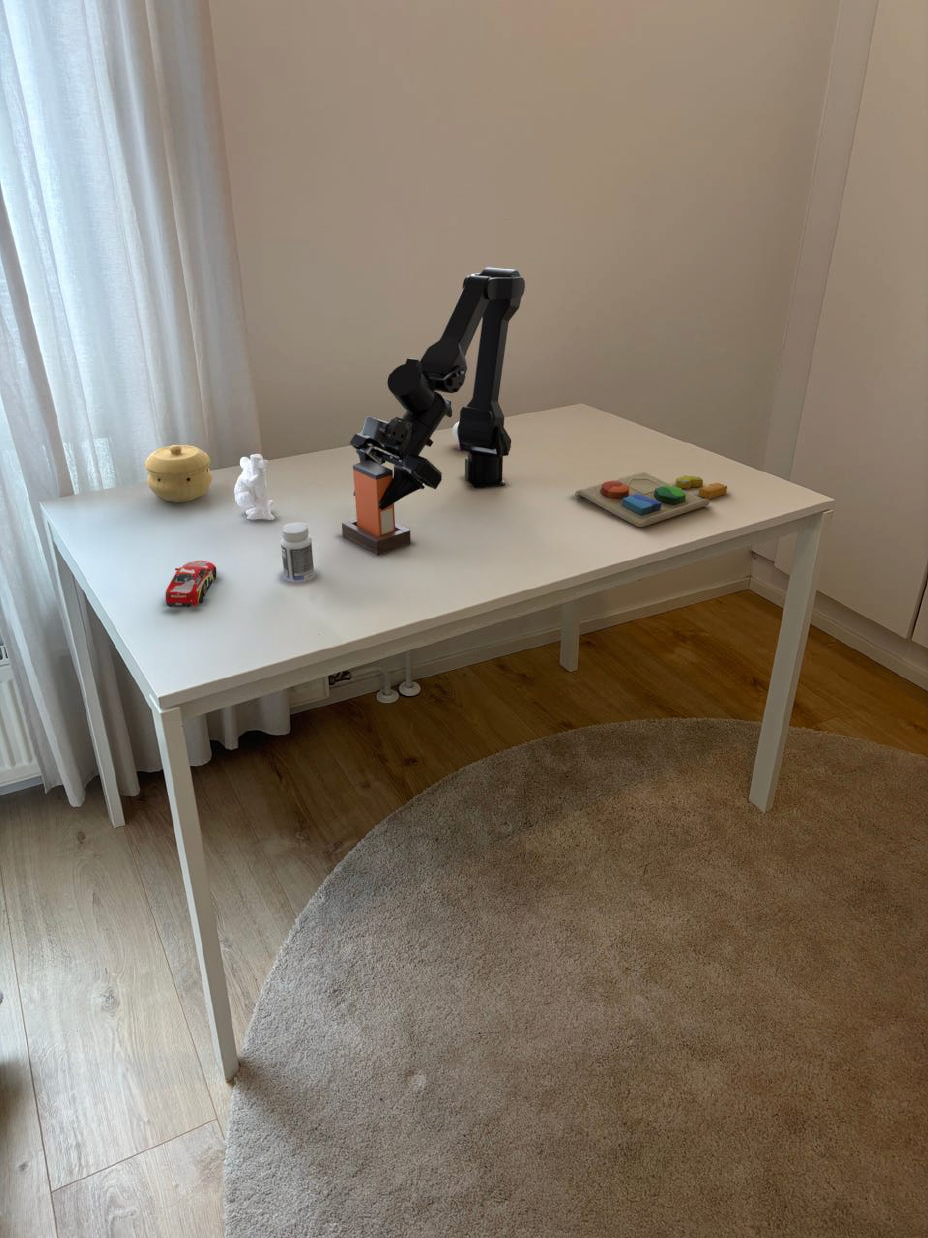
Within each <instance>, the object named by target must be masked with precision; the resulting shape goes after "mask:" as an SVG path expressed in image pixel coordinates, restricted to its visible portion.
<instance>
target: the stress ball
mask: <svg viewBox="0 0 928 1238" xmlns="http://www.w3.org/2000/svg"><path fill="white" fill-rule="evenodd" d="M458 424H459V421H458V422H456V423H455V424H454V425H453V427H452V436H453V439H454V441H456V443H458V444H459V440H458V435H457V428H458ZM457 450H460V446H459V447H457Z"/></svg>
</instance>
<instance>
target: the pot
mask: <svg viewBox="0 0 928 1238" xmlns="http://www.w3.org/2000/svg"><path fill="white" fill-rule="evenodd" d="M210 465H211V459H210V457H209V456H208V454H207V453H206V452H205V451H204V450H202V449H200V448H198V447H196V446H193V445H188V444H187V445H186V444H173V445H168V446H163V447H161V448H157V449H156V450H154V451H153V452H152V453H150V454H149V456H148V457H147V459H145V462H144V470H145V471H146V473H148V476H147V478H146V484H147V486H148V488H149V489H150V491H152V493H153V494H154V495H155V496H157V497H158V498H160V499H162V500H164V501H167V502H173V503H180V502H188V501H192V500H195V499H198V498H200V497H202V496H204V495H205V494H206V492H207V491H208V490H209V488H210V486H211V484H212V481H213V473H212V471H211V470H210V469H209V467H210Z"/></svg>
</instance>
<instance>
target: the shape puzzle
mask: <svg viewBox="0 0 928 1238" xmlns="http://www.w3.org/2000/svg"><path fill="white" fill-rule="evenodd" d="M674 483H675V484H674V485H673V484H670V483H668V482H666V481H664V480H661V479H660V478H658V477H656V476H654V475H652V474H650V473H648V472H645V471H640V472H637V473H633V474H630V475H626V476H623V477H618V478H616V479H612V480H608V481H604V482H602V483H599V484H596V485H592V486H588V487H585V488H582V489H579V490H576V491H575V492H574V494H575V497H576V498H581V497H583V498H585V499H587V500H589V501H590V502H592V503H593V504H595V505H597V506H599V507H601V508H603V509H604V510H606V511H608V512H609V513H612V514H614V515H615V516H617V517H619V518H621V519H623V520H625V521H626V522H628V523H630V524H631V525H634V526H636V527H638V528H644V527H647V526H650V525H652V524H656V523H659V522H663V521H664V520H668V519H672V518H674V517H676V516H677V517H678V516H679V515H683V514H686V513H689V512H692V511H695V510H697V509H701V508H703V507H707V506H709V505H710V503H711V500H712V499H714V498H718V497H721V496H724V495H726V494H727V492H728V491H727V490H728V485H725V484H722V483H720V482H713V483H708V485H707V486H703V483H704V480H703V478H701V477H700V476H694V475H687V474H686V475H682V476H679V477H677V478H675V482H674ZM690 488H698V493H697V495H698V496H699V497H701V498H704V499H700V498H699V497H696V496H694V495H693V494H691V493H688V492H686V491H684V489H685V490H688V489H690Z"/></svg>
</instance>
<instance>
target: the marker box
mask: <svg viewBox="0 0 928 1238" xmlns="http://www.w3.org/2000/svg"><path fill="white" fill-rule="evenodd" d="M352 471H353V472H352V473H353V488H354V489H353V490H355V496H354V502H355V504H354V505H355V514H356V515H355V517H356V518H357V527H359V528H361V529H363V530H365V531H367V532H369V533H371V534H373V535H375V536H377V537H378V538H379V537H381V536H384V535H387V534H390V533H393V532H395V523H396V513H395V503H393V504H392V505H390V506H389V507H387V508H385V509H384V510H381V509H380V508H378V504H379V502H380V500H381V498H382V496H383V495H384V493H385V491H386V489H387V488H388V486H389V484H390V483H391V481H392V479H393V477H394V469H391V468H388V467H386V466H384V465H383V464H381V465H379V464H377V463H375V462H373V461H370V460H368V461H364V462H361V463H360V462H358V463H354V464H352ZM356 518H355V519H356Z"/></svg>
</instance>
